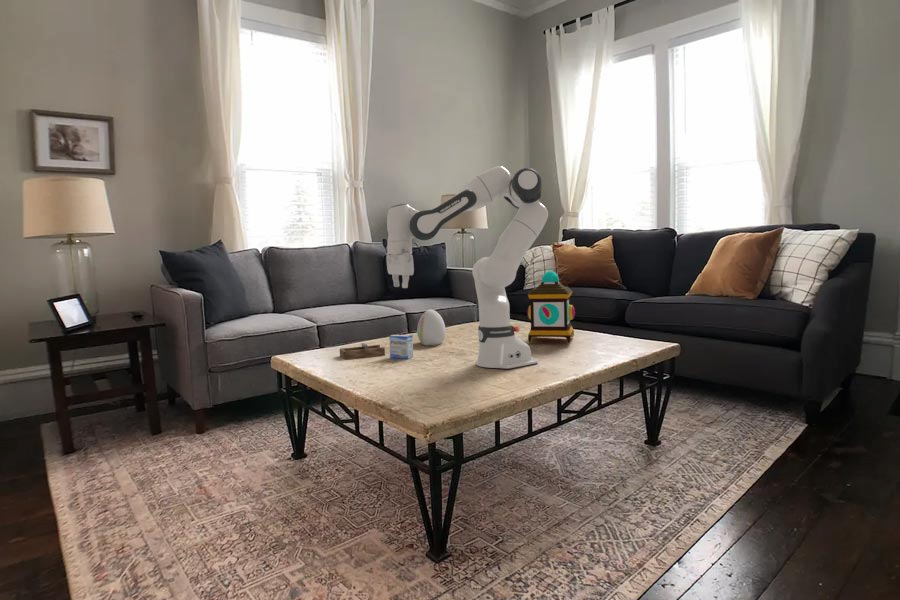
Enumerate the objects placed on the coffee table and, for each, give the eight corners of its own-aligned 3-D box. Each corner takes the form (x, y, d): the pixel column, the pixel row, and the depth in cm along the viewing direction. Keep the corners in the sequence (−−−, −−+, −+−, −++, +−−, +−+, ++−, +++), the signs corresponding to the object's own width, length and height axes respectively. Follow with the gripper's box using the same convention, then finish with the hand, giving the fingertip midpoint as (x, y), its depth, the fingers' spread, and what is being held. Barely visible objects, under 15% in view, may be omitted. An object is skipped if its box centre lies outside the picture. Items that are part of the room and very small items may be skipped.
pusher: (364, 352, 217) (363, 343, 217) (367, 354, 212) (367, 344, 212) (361, 352, 216) (361, 343, 216) (365, 354, 211) (364, 345, 211)
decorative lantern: (577, 337, 241) (576, 269, 238) (573, 344, 222) (572, 270, 219) (531, 336, 247) (530, 270, 244) (524, 343, 228) (522, 272, 226)
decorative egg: (424, 341, 244) (423, 308, 242) (450, 342, 239) (448, 308, 238) (413, 346, 232) (411, 311, 231) (439, 346, 228) (438, 311, 227)
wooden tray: (379, 352, 221) (379, 344, 220) (384, 355, 213) (384, 347, 213) (339, 356, 214) (339, 348, 214) (344, 359, 207) (343, 351, 207)
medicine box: (389, 358, 206) (388, 335, 205) (395, 356, 210) (394, 334, 209) (408, 359, 203) (407, 336, 202) (413, 357, 207) (412, 334, 206)
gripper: (417, 248, 190) (418, 288, 191) (399, 249, 209) (400, 285, 210) (400, 249, 188) (401, 289, 189) (383, 250, 207) (384, 286, 208)
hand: (400, 287), depth 200 cm, fingers open, 8 cm apart
